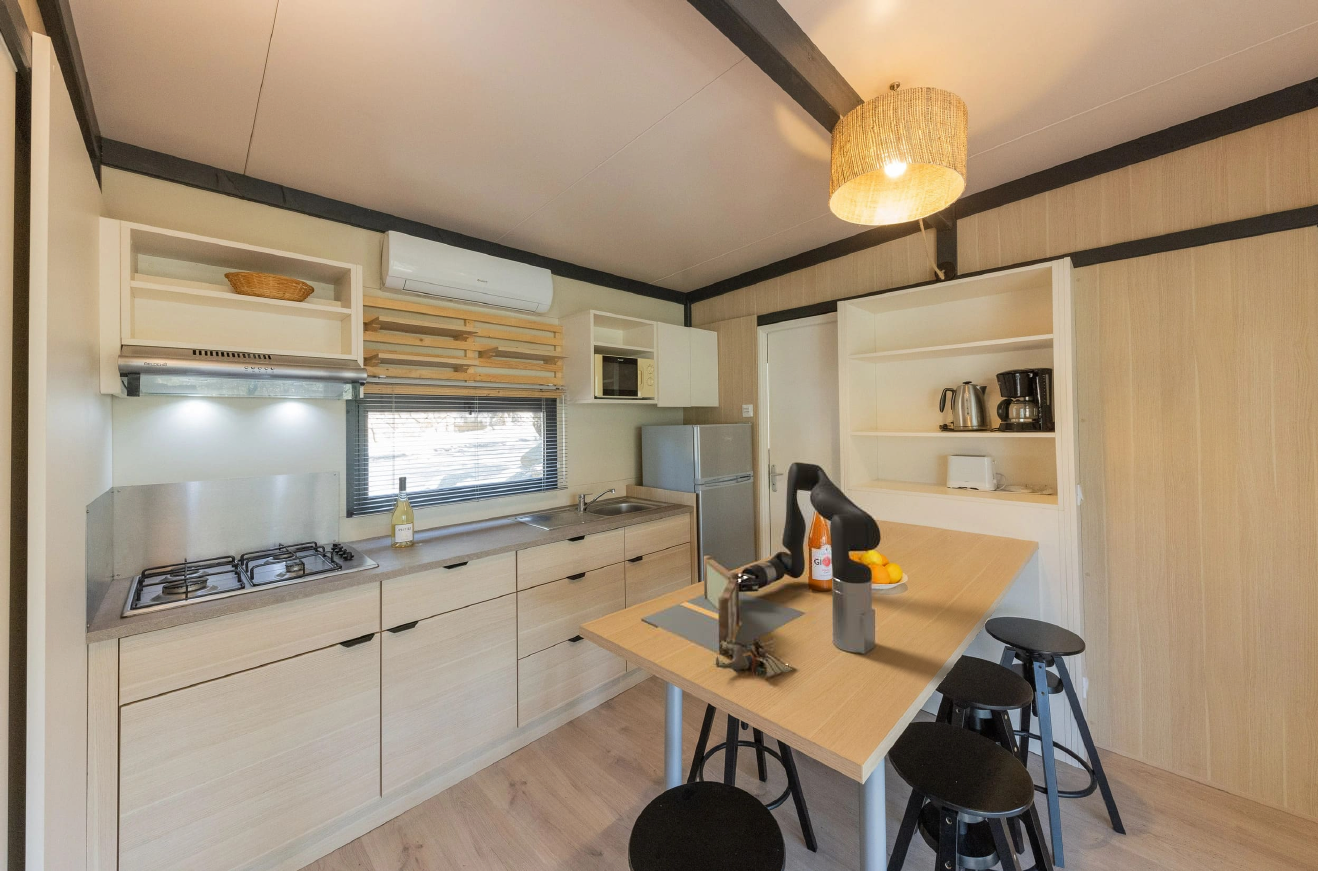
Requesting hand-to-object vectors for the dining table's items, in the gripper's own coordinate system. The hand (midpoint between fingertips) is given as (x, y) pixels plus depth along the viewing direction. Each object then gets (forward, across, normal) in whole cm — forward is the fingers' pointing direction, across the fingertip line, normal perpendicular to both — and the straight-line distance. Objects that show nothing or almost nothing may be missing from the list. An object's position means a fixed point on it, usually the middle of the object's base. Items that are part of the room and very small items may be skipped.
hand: (722, 589), depth 145 cm
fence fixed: (+13, +14, +6) cm, 20 cm away
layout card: (+4, +4, +6) cm, 8 cm away
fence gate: (+1, -1, +6) cm, 6 cm away
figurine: (+19, +28, +7) cm, 34 cm away
